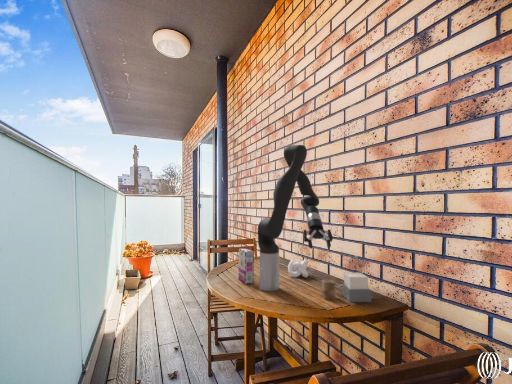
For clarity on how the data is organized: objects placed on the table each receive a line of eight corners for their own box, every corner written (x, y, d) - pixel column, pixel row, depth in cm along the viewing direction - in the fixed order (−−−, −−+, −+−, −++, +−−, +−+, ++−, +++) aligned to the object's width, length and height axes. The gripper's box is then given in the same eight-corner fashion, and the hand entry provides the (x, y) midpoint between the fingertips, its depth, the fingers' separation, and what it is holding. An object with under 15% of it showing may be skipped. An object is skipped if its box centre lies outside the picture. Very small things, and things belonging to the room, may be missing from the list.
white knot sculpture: (286, 278, 137) (286, 262, 138) (288, 273, 149) (288, 257, 149) (307, 279, 135) (307, 263, 135) (308, 274, 146) (308, 258, 147)
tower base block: (349, 302, 103) (349, 290, 103) (342, 294, 112) (342, 283, 112) (371, 302, 103) (371, 290, 103) (362, 295, 112) (362, 283, 112)
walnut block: (324, 299, 105) (324, 282, 106) (321, 295, 110) (321, 279, 110) (335, 299, 105) (334, 282, 106) (332, 296, 110) (331, 279, 110)
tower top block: (350, 289, 104) (349, 277, 105) (344, 283, 112) (343, 272, 112) (368, 289, 104) (367, 277, 104) (361, 284, 112) (360, 272, 112)
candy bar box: (254, 283, 128) (254, 251, 129) (245, 284, 126) (245, 251, 127) (246, 277, 138) (246, 248, 139) (238, 278, 136) (238, 248, 137)
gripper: (302, 218, 132) (306, 243, 120) (329, 217, 132) (336, 242, 120) (300, 227, 137) (304, 252, 125) (326, 227, 137) (333, 252, 125)
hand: (320, 247), depth 122 cm, fingers open, 8 cm apart
